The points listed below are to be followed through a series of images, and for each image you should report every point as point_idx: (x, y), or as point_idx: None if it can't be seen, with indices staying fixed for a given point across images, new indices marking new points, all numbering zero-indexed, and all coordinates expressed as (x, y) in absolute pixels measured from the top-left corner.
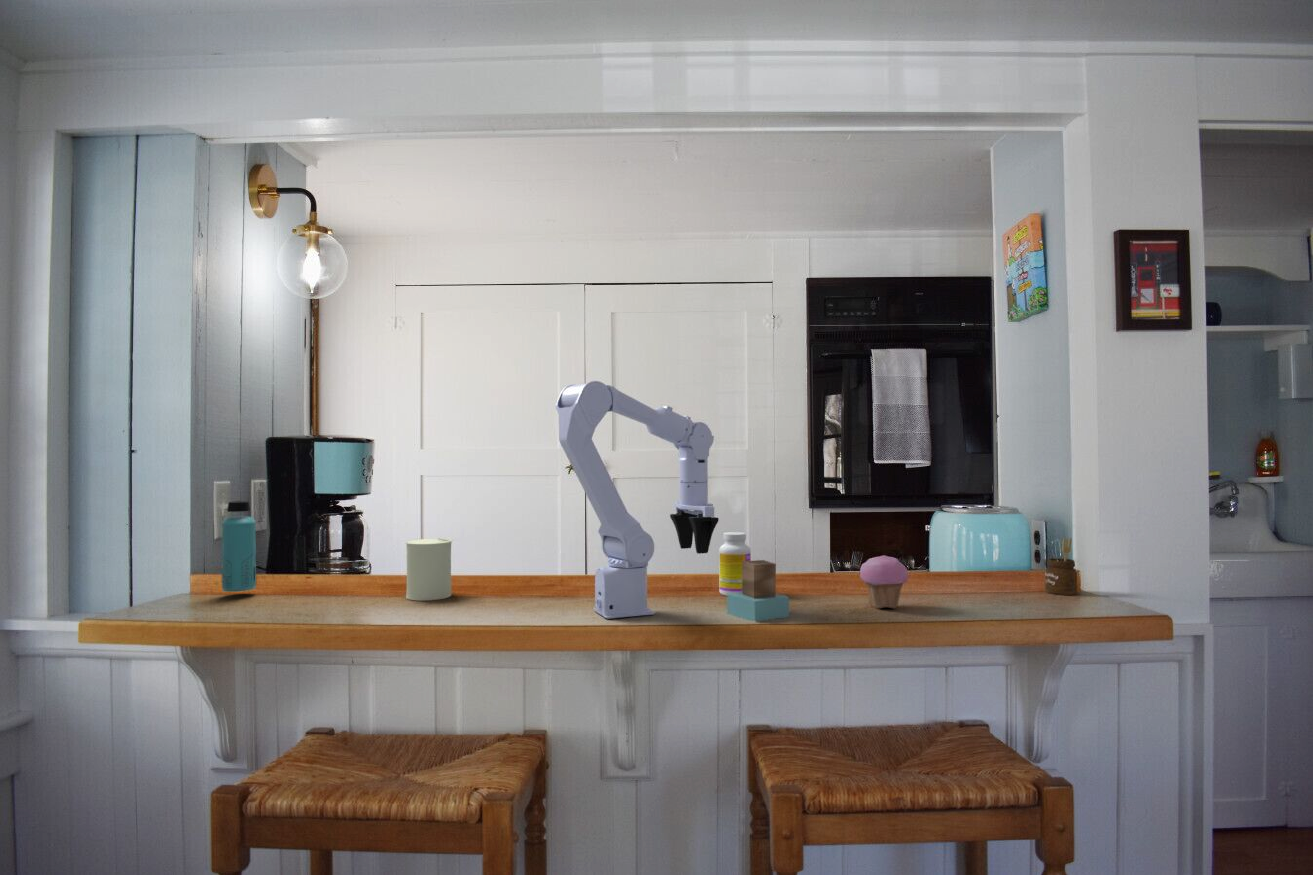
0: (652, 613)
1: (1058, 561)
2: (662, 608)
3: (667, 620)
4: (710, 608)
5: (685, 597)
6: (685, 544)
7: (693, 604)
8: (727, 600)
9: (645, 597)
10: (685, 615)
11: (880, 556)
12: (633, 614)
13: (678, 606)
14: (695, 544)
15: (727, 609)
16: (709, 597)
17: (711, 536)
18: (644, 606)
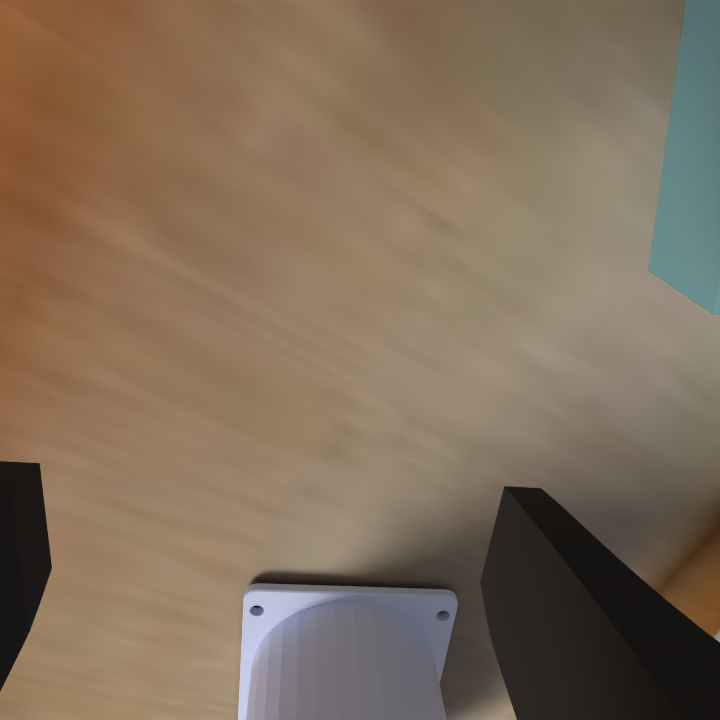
0: (455, 604)
1: None
2: (334, 504)
3: None
4: (478, 284)
5: (86, 253)
6: (29, 568)
7: (323, 317)
8: (691, 297)
9: (425, 680)
10: (540, 477)
11: None
12: (440, 675)
13: (330, 416)
14: (517, 687)
15: (661, 277)
16: (152, 89)
17: (692, 622)
18: (425, 649)
